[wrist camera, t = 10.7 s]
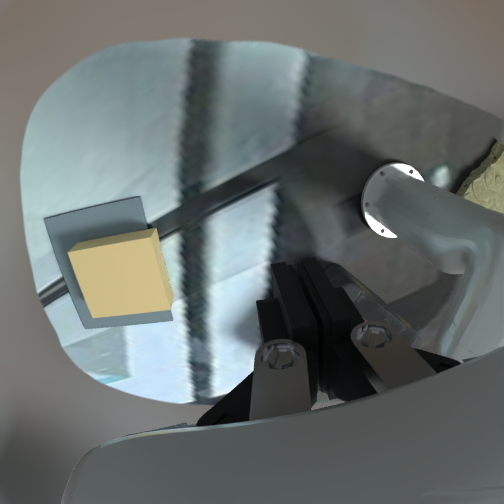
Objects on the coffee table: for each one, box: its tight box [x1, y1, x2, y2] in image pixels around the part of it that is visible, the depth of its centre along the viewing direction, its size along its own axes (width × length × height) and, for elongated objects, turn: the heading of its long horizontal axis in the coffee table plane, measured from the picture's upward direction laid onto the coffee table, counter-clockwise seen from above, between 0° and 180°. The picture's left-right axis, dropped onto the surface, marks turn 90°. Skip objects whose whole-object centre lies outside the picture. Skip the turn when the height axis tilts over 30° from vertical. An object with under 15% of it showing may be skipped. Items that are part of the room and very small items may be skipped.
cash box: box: [318, 264, 422, 401], centre depth 54 cm, size 25×20×8 cm
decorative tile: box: [456, 141, 504, 213], centre depth 48 cm, size 19×20×4 cm
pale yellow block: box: [68, 228, 174, 318], centre depth 46 cm, size 4×12×14 cm
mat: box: [44, 197, 173, 329], centre depth 48 cm, size 18×22×1 cm
